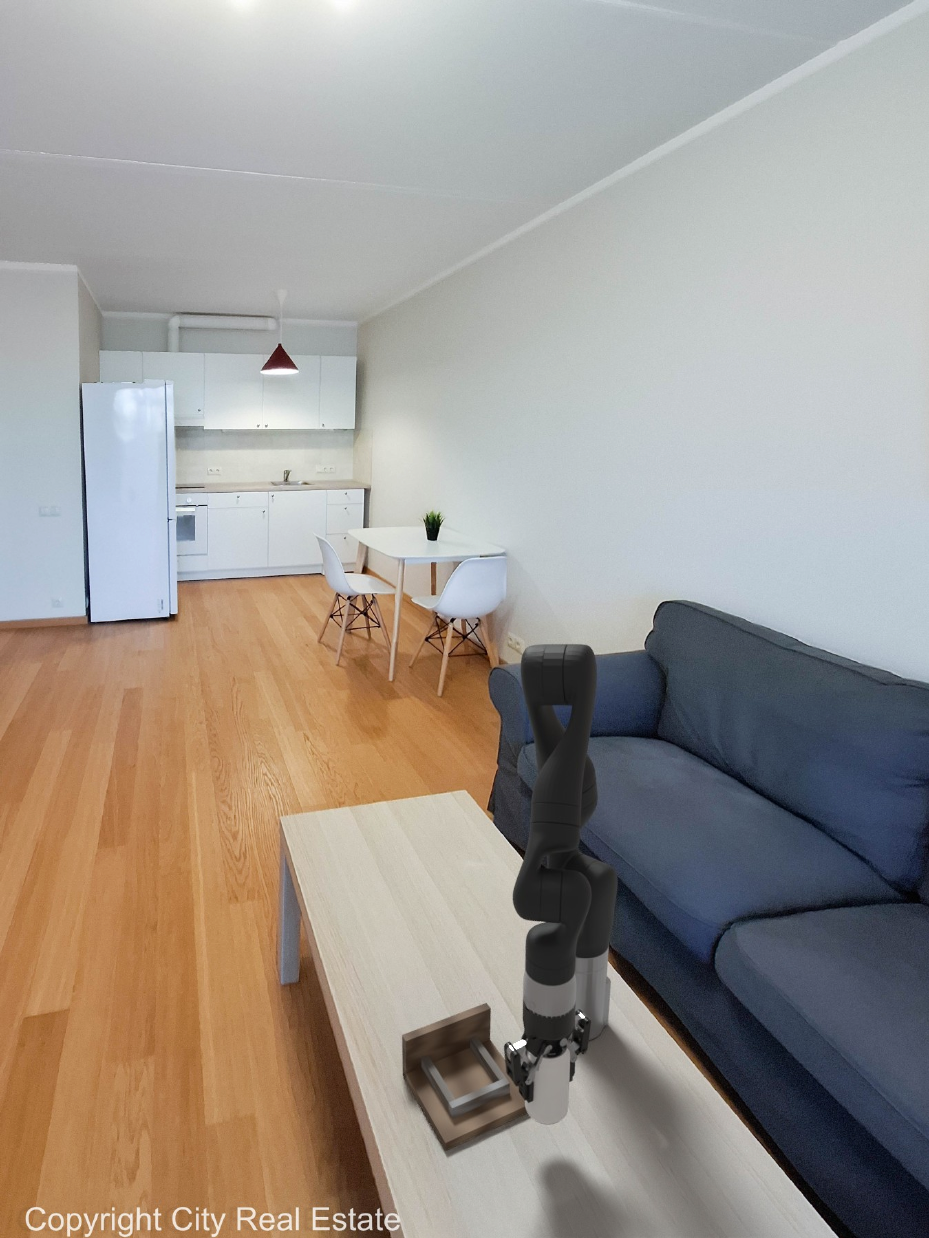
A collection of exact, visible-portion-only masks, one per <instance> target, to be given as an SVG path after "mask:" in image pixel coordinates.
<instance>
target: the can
mask: <svg viewBox="0 0 929 1238" xmlns="http://www.w3.org/2000/svg"><path fill="white" fill-rule="evenodd" d="M567 1047H568V1045H567V1046H566V1048H563V1049H562V1047H561V1046H559V1047H557V1048H555V1049H553V1050H551V1052H550V1054H549V1055H547V1057H542V1062H541V1064H539V1065H540V1066H539V1071H535V1077H534V1079H533V1082H534V1092H533V1101H532V1102H530V1103H528V1102H527V1101H526V1100H525V1107H526V1111H527V1113H526V1114H528V1116H529V1117H530V1118H531V1119H532V1120H534V1121H535V1122H537V1123H539V1124H543V1125H550V1126H551V1125H555V1124H558V1123H559V1122H561V1121H563V1120H564V1119H565V1118H566V1117H567V1115H568V1114H567V1113H568V1111H569V1102H570V1101H569V1099H570V1098H569V1097H570V1082H569V1078H570V1051H569V1050H568V1048H567ZM527 1056H528V1057H529V1059H530V1060H531V1061H532V1062H533V1063H535V1061H536V1059H537V1057H534V1056H533V1055H532V1054H531V1053H530V1052H529V1051H527ZM526 1070H527V1071H528V1070H529V1066H528V1065H527V1068H526Z"/></svg>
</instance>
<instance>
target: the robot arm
mask: <svg viewBox="0 0 929 1238" xmlns="http://www.w3.org/2000/svg"><path fill="white" fill-rule="evenodd" d="M520 681H521V685H522V693H523V696H524V702H525V706H526V710H527V714H528V719H529V723H530V727H531V731H532V737H533V738H532V739H533V741H534V751H535V757H536V767H537V769H536V770H537V777H536V779H535V781H534V785H533V788H532V796H531V807H530V827H529V835H528V841H527V846H526V848H525V849H526V851H525V853H524V858H523V861H522V863H521V866H520V869H519V871H518V875H517V877H516V879H515V883H514V887H513V890H512V891H513V892H512V903H513V904H512V905H513V907H514V909H515V912H516V914H517V915H518V917H520V918H521V919H523V920H524V921H530V922H540V923H538V924H535V925H534V926H532V927H531V928H530V929H529V930H528V932H527V934H526V938H525V945H524V946H525V947H524V948H525V951H524V953H525V956H524V957H525V958H524V959H525V960H524V961H525V963H524V964H525V965H524V972H523V981H522V982H523V983H522V1024H523V1030H524V1031H523V1034H522V1036H521V1037H520V1038H521V1039H520V1041H517V1042H516V1043H513V1044H512V1042H511V1041H507V1042H506V1043H505V1044H504V1046H503V1053H504V1059H505V1064H506V1073H507V1075H508V1076H509V1077H510V1078H511V1080H512V1081H513V1082H514V1084H515V1086H517V1087H518V1086H519V1093H520V1095H521V1096H522V1097H523V1099H524V1100H526V1101H527V1102H528V1103H530V1102H532V1101H533V1092H534V1082H533V1079H534V1077H535V1071H539V1066H540V1065H539V1064H541V1062H542V1057H547V1055H549V1054H550V1052H551V1050H553V1049H555V1048H557V1047H559V1046H561V1047H562V1049H563V1048H566V1046H567V1045H568V1047H567V1048H568V1050H569V1051H570V1078H569V1083H572V1082H573V1081H574V1078H573V1077H574V1076H575V1073H576V1061H577V1060H578V1058H579V1057H578V1056H579V1055H580V1054H581V1055H585V1054H587V1052H588V1048H589V1041H592V1040H594V1039H596V1038H597V1037H599V1036H600V1035H601V1033H602V1031H603V1029H604V1028H605V1027H607V1026H608V1025H609V1018H610V1017H609V1015H610V1014H609V1013H610V1004H611V1003H610V1000H611V987H612V986H611V985H612V980H611V978H609V976H608V965H609V964H608V962H609V950H610V949H609V947H610V938H611V933H612V931H613V925H614V918H615V917H614V915H615V907H616V902H617V901H616V900H617V893H618V874H617V872H616V869H615V867H613V866H612V865H610V864H608V863H606V862H603V861H601V860H599V859H596V858H594V857H592V856H589V855H586V854H584V853H582V852H581V850H580V849H579V846H580V845H579V844H580V840H581V830H582V829H583V828H584V826H585V825H587V823H588V822H589V821H590V819H591V818H592V816H593V815H594V813H595V812H596V809H597V806H598V801H599V800H598V797H599V795H598V785H597V784H598V783H597V774H596V768H595V766H594V762H593V761H592V759H591V757H590V755H589V754H588V749H589V743H590V738H591V729H592V724H593V715H594V709H595V704H596V696H597V684H598V665H597V660H596V655H595V653H594V651H593V649H592V647H591V646H589V645H588V644H582V643H581V644H580V643H572V644H571V643H567V644H566V643H564V644H563V643H559V644H558V643H555V644H554V643H549V644H548V643H547V644H545V643H544V644H543V643H542V644H534V645H529V646H528V647H526V648H525V650H523V653H522V655H521V659H520ZM554 706H570V707H571V711H570V717H569V721H568V724H567V726H566V728H565V727H564V725H563V724H562V723H561V721H560V719H559V718H558V716H557V713H556V712H555V708H554ZM546 858H547V867H542V866H541V865H542V863H543V860H545V859H546ZM569 1040H571V1043H570V1041H569ZM527 1051H529V1052H530V1053H531V1054H532V1055H533V1056H534V1057H537V1059H536V1061H535V1063H533V1062H532V1061H531V1060H530V1059H529V1057H528V1056H527ZM527 1065H528V1066H529V1070H528V1071H527V1070H526V1068H527Z"/></svg>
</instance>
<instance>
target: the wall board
mask: <svg viewBox="0 0 929 1238" xmlns="http://www.w3.org/2000/svg"><path fill="white" fill-rule="evenodd" d="M491 1012H492V1009H491V1006H490V1005H489V1004H488V1002H485V1003H482V1004H480V1005H477V1006H475V1007H472V1008H470V1009H467V1010H464V1011H461V1012H458V1013H456V1014H453V1015H451V1016H448V1017H445V1018H443V1019H440V1020H437V1021H436V1022H433V1023H430V1024H426V1025H424V1026H422V1027H420V1028H417V1029H414V1030H412V1031H409V1032H406V1033H404V1034H402V1035H401V1040H402V1041H401V1050H402V1051H401V1055H402V1059H401V1060H402V1062H401V1063H402V1076H403V1077H404V1079H405V1081H406V1083H407V1084H408V1087H409V1088H410V1091H411V1093H412V1094H413V1096H414V1097H415V1099H416V1101H417V1102H418V1104H419V1106H420V1108H421V1110H422V1112H423V1114H424V1115H425V1117H426V1119H427V1120H428V1122H429V1124H430V1126H431V1127H432V1129H433V1132H434V1133H435V1135H436V1137H437V1139H438V1140H439V1142H440V1144H441V1145H442V1147H443V1149H444V1151H445V1152H446V1151H449V1150H450V1149H453V1148H454V1147H457V1146H459V1145H461V1144H464V1143H465V1142H467V1141H470V1140H472V1139H474V1138H476V1137H479V1136H480V1135H483V1134H485V1133H487V1132H489V1131H491V1130H493V1129H496V1128H498V1127H500V1126H502V1125H504V1124H506V1123H508V1122H510V1121H513V1120H515V1119H517V1118H519V1117H521V1116H523V1115H526V1114H528V1113H527V1111H526V1107H525V1100H524V1099H523V1097H522V1096H521V1095H520V1093H519V1086H518V1087H517V1086H515V1084H514V1082H513V1081H512V1080H511V1078H510V1077H509V1076H508V1075H507V1073H506V1064H505V1057H504V1056H503V1055H502V1053H501V1052H500V1051H499V1050H498V1048H497V1047H496V1046H495V1043H493V1042H492V1040H491V1021H492V1020H491V1017H492V1016H491Z"/></svg>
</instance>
